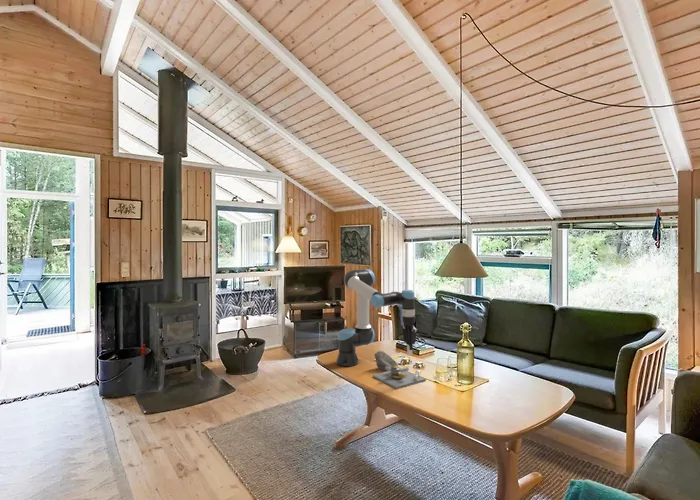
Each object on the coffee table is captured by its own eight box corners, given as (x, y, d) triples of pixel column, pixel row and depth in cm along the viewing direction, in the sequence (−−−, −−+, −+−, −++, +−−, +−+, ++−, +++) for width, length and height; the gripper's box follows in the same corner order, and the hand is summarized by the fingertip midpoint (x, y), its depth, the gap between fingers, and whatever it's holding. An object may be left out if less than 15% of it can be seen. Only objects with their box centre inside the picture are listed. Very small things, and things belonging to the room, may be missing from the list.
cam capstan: (374, 375, 241) (373, 365, 240) (398, 369, 250) (398, 359, 250) (392, 384, 224) (392, 373, 224) (418, 377, 234) (417, 367, 234)
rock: (399, 367, 253) (388, 346, 254) (392, 373, 248) (380, 351, 250) (389, 369, 262) (378, 349, 264) (381, 375, 257) (370, 355, 259)
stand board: (372, 376, 242) (372, 367, 242) (400, 369, 253) (400, 360, 253) (396, 389, 221) (396, 378, 221) (425, 380, 233) (425, 370, 232)
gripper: (397, 315, 237) (398, 353, 237) (410, 318, 226) (412, 358, 226) (406, 313, 241) (407, 351, 241) (420, 316, 229) (421, 356, 230)
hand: (409, 354), depth 233 cm, fingers closed
